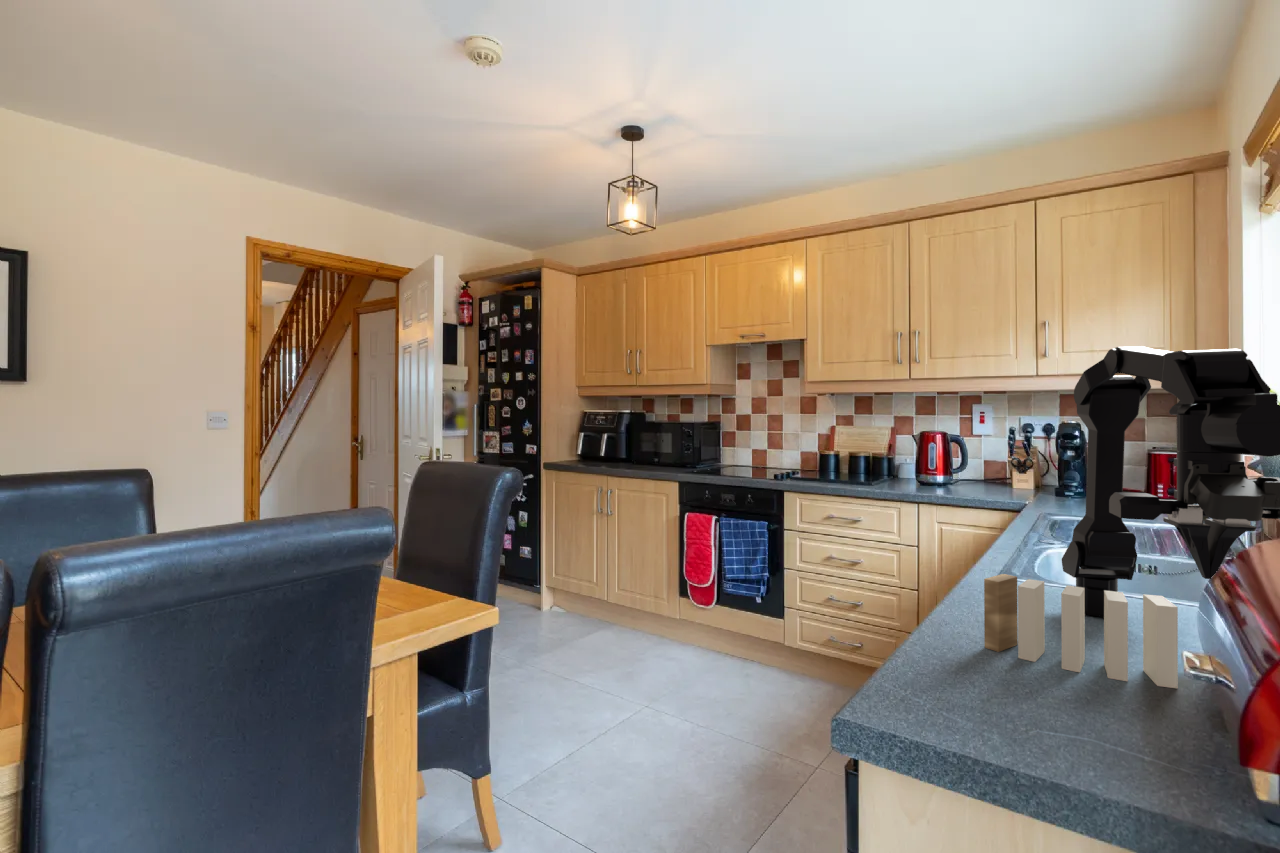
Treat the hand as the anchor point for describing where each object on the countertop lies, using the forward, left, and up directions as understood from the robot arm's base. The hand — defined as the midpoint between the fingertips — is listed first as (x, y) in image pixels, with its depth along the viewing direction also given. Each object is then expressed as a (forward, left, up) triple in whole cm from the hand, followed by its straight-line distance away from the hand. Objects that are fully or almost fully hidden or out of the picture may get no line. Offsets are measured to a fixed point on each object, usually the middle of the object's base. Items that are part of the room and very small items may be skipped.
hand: (1207, 578), depth 76 cm
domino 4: (+2, -9, -13) cm, 16 cm away
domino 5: (+1, -5, -13) cm, 14 cm away
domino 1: (0, -22, -13) cm, 26 cm away
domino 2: (+1, -18, -13) cm, 23 cm away
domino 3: (+2, -14, -13) cm, 19 cm away
